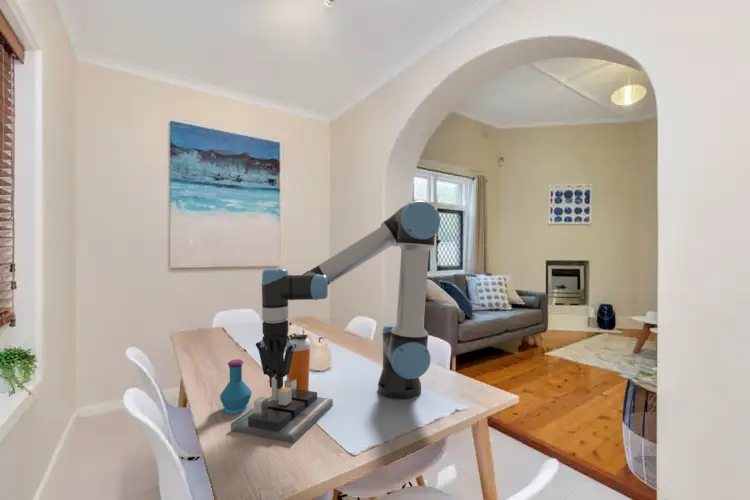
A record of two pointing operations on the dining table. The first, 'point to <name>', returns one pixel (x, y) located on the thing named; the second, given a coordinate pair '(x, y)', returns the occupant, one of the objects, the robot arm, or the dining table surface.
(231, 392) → the perfume bottle
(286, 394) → the breaker handle
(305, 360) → the shaker bottle
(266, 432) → the panel
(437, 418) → the dining table surface
